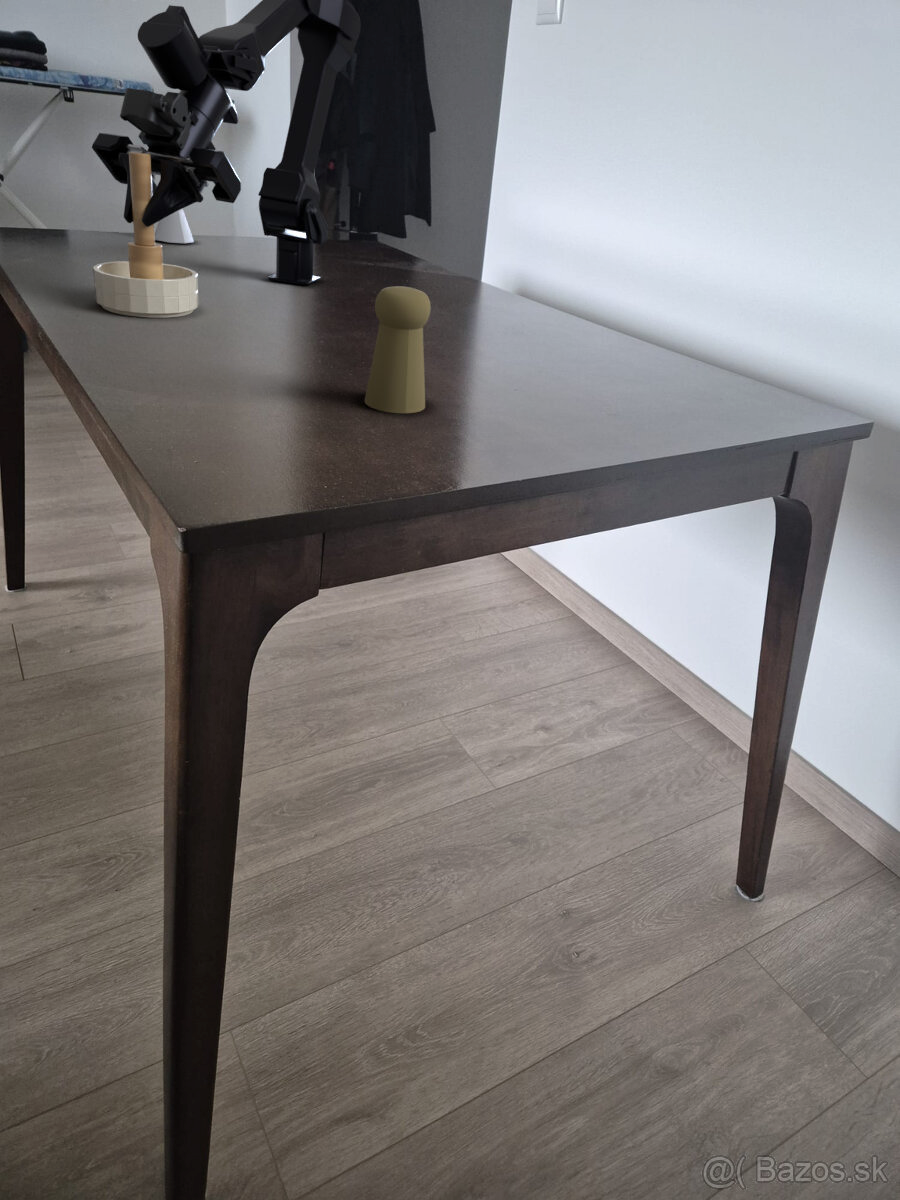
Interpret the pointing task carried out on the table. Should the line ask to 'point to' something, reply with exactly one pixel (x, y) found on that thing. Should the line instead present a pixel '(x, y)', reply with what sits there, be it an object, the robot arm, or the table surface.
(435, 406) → the table surface
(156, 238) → the flask
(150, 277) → the pestle
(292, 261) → the robot arm
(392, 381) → the cork
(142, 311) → the bowl
